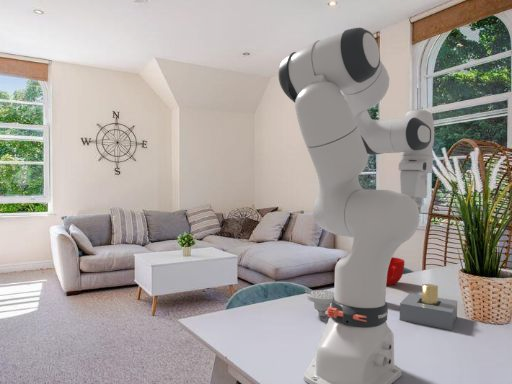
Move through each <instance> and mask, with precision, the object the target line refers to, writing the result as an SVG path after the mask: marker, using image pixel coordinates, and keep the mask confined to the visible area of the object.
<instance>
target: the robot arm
mask: <svg viewBox="0 0 512 384" xmlns="http://www.w3.org/2000/svg"><path fill="white" fill-rule="evenodd" d="M277 76H278V82H279V86H280V87H281V89H282V91H283V93H284V94H285V95H286V96H287V97H288V99H290V101H292V102H293V103H294V108H295V113H296V117H297V118H296V119H297V122H298V124H299V130H300V132H301V136H302V138H303V140H304V143H305V145H306V148H307V151H308V152H309V153H308V154H309V156H310V158H311V160H312V163H313V166H314V169H315V172H316V174H317V179H318V183H319V192H318V194H319V195H318V196H317V198H316V199H315V201H314V202H313V203H314V204H313V208H312V209H313V210H312V215H313V219H314V222H315V224H316V225H317V227H319V228H320V229H322V230H325V231H326V232H329V233H331V234H333V235H336V236H342V237H346V238H347V237H348V238H353V242H352V247H351V249H350V252H349V254H348V255H345V256H343V257H342V258H340V259H339V260H338V261H337V262H336V264H335V267H334V287H333V289H334V290H333V293H334V297H333V299H332V303H330V307H328V310H327V311H326V315H327V317H329V318H328V321H327V323H326V325H325V328H324V330H323V334H322V336H321V337H320V341H319V343H318V346H317V347H316V348H317V349H316V352H315V355H314V356H313V358H312V360H311V362H310V364H309V365H308V367H307V369H306V370H305V372H304V374H303V380H304V381H305V382H307V384H393V383H394V382H395V381H397V380H398V379H399V378H400V377H402V376H403V372H402V371H403V370H402V369H401V368H400V367H399V366H398V365H396V364H395V335H394V332H393V331H392V329H390V327H389V325H388V324H387V320H388V313H389V308H388V303H387V302H386V298H387V296H386V295H387V285H386V281H387V272H388V267H389V264H390V261H391V258H392V257H394V255H395V253H396V251H397V250H398V249H399V248H400V246H401V245H402V244H403V243H405V242H407V241H409V240H410V239H411V238H412V237H413V236H414V234H415V233H416V232H417V231H418V228H419V224H420V213H421V212H422V204H423V199H427V196H428V174H433V166H434V153H433V146H434V143H435V124H434V118H433V114H432V113H431V112H430V111H427V110H423V109H412V110H409V111H406V113H405V115H404V116H403V117H400V118H391V119H383V120H381V119H380V120H379V119H373V118H371V115H370V114H369V111H368V110H370V109H372V108H374V107H376V106H377V105H378V104H379V103H380V102H381V101H382V100H383V99H384V97H385V96H386V94H387V92H388V90H389V87H390V77H389V73H388V70H387V68H386V67H385V65H384V64H383V62H382V61H381V53H380V47H379V45H378V42H377V39H376V37H375V36H374V34H373V33H372V32H371V31H370V30H368V29H365V28H363V27H354V28H353V27H352V28H348V29H346V30H344V31H343V32H341V33H337V34H334V35H331V36H328V37H325V38H323V39H318V40H315V41H314V42H311V43H310V44H307V45H306V46H303V47H302V48H301V49H299V50H298V51H294V52H292V53H290V54H289V55H287V56H286V57H285V58H284V59H282V61H281V62H280V64H279V67H278V75H277ZM394 153H395V154H396V153H398V154H399V153H400V162H399V163H398V170H399V172H400V175H399V177H400V180H399V181H400V182H399V185H400V186H399V187H400V192H398V191H393V190H389V189H366V188H363V187H362V186H361V184H360V180H359V179H360V178H359V175H361V174H362V172H364V170H365V169H366V167H367V165H368V162H369V155H371V156H374V155H376V156H377V155H382V154H394Z"/></svg>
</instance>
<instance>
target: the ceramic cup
mask: <svg viewBox="0 0 512 384" xmlns="http://www.w3.org/2000/svg"><path fill="white" fill-rule="evenodd" d="M404 269H405V260H404V259H402V258H398V257H394V256H392V258H391V261H390V264H389V267H388V272H387V281H386V286H394V285H393V284H395V285H396V284H397V283H398V282H399V281H400V280H401V278H402V276H403V275H404Z"/></svg>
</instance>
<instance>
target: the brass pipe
mask: <svg viewBox="0 0 512 384" xmlns="http://www.w3.org/2000/svg"><path fill="white" fill-rule="evenodd" d="M438 293H439V286H438V285H435V284H432V283H431V284H430V283H423V284H422V285H421V295H422V304H428V305H434V306H437V302H438V298H439V296H438V295H439V294H438Z"/></svg>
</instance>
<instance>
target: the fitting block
mask: <svg viewBox="0 0 512 384" xmlns="http://www.w3.org/2000/svg"><path fill="white" fill-rule="evenodd" d="M457 317H458V300H454V299H449V298H444V297H438V302H437V306H434V305H428V304H422V294H417V293H412V292H410V293H408V294H407V295H406V297H405V298H404V299H403V300H402V301H401V302H400V303H399V321H403V322H407V321H408V322H409V323H413V324H417V325H418V324H419V325H423V326H428V327H434V328H439V329H442V330H448V331H452V330H453V327H454V325H455V324H456V323H455V322H456V320H457Z"/></svg>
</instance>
